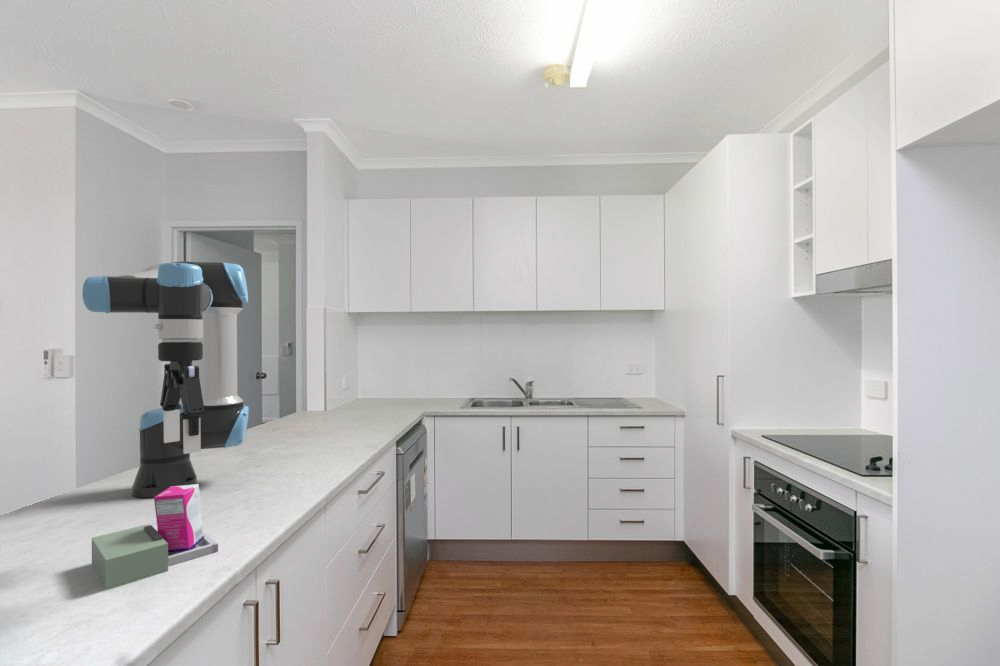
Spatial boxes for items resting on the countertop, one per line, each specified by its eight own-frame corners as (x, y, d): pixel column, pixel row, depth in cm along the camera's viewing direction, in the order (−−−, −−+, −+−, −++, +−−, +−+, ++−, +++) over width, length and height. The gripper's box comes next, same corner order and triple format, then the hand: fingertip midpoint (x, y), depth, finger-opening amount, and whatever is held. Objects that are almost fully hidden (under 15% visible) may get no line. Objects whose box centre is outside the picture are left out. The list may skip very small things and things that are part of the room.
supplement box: (175, 540, 100) (170, 485, 100) (205, 537, 101) (201, 483, 100) (157, 554, 95) (153, 496, 94) (189, 551, 95) (185, 493, 95)
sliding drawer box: (91, 564, 93) (91, 534, 93) (198, 535, 106) (198, 509, 106) (106, 589, 83) (106, 556, 83) (221, 554, 97) (221, 525, 97)
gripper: (142, 340, 103) (143, 440, 104) (177, 342, 87) (178, 461, 87) (183, 340, 109) (184, 435, 109) (223, 341, 92) (224, 453, 92)
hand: (181, 446), depth 98 cm, fingers open, 13 cm apart
